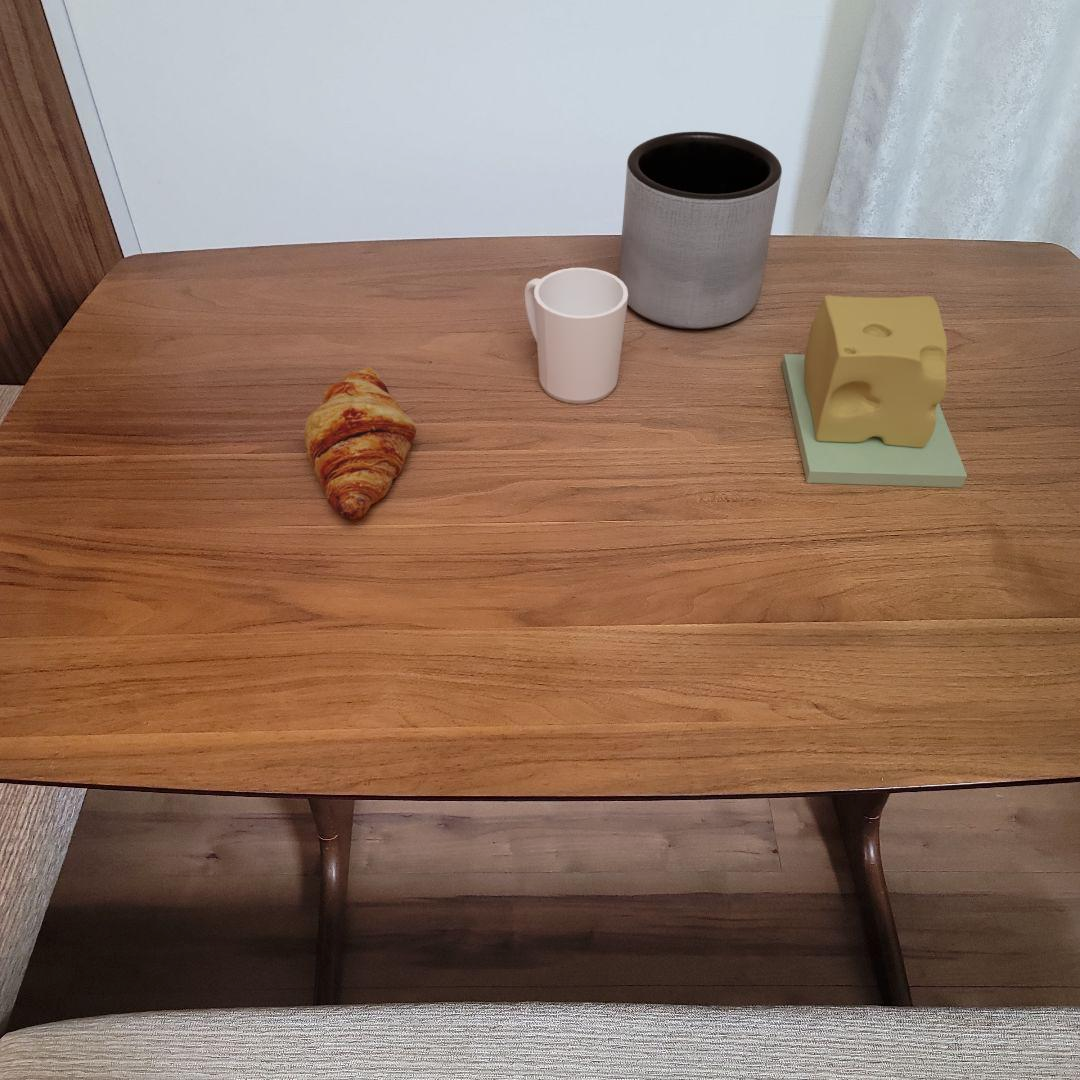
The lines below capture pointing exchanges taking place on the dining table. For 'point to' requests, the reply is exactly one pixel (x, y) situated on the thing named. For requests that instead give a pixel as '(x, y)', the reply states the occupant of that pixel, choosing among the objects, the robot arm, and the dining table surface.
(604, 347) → the mug
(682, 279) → the planter
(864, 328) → the cheese
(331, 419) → the croissant
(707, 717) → the dining table surface
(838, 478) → the board
